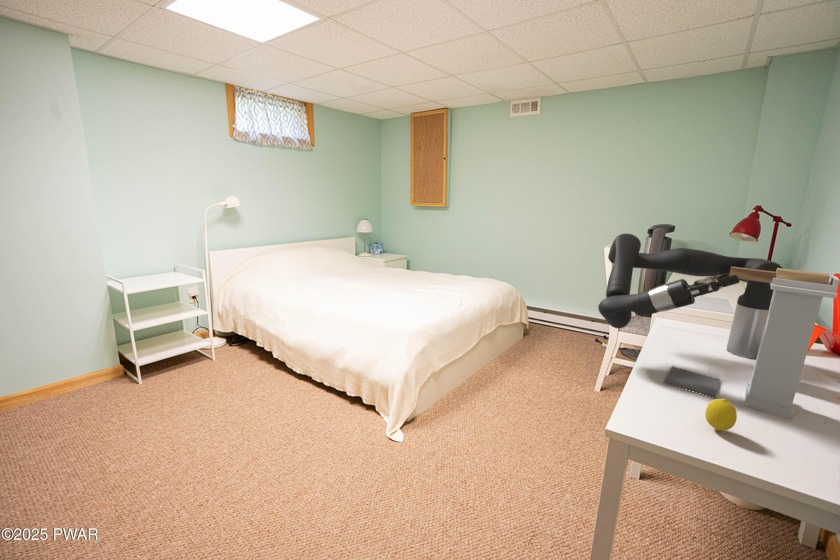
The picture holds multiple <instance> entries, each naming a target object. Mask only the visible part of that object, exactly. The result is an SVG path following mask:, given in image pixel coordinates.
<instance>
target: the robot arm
mask: <svg viewBox="0 0 840 560" xmlns="http://www.w3.org/2000/svg"><path fill="white" fill-rule="evenodd" d="M641 245H642V244H641V240H640V238H639V237H637V236H636V235H634V234H633V233H632V234H631V233H621V234H619V235H617V236H616V237H615V238H614V239H613V242H612V244H611V247H610V250H609V253H608V255H607V256H608V260H609V262H610V263H611V264H613V265H612V267H611V271H610V274H609V277H608V281H607V286H606V291H605V296H606V298H604V299H603V300H601V301H600V302H599V304H598V307H597V308H598V311H599V313H600V315H601V316H602V317H603V318H604V320H605V321H606V322H607V323H608V325H610V326H611V327H613V328H614V329H623V328H625V327H627V326H628V324H629V323H630V322H631V320H632V316H633V315H632V313H634V314H635V315H637V316H639V317H646V316H650V315H652V314H653V315H654V314H658V313H661V312H662V313H663V312H667V311H671V310H672V311H673V310H675V309H679V308H683V307H687V306H690V305H693V304H694V303H695V302H696V300H695V298H697V297H701V296H705V295H707V294H711V293H714V292H715V293H716V292H718V291H720V290H722V289H723V288H726V287H730V286H733V285H737V284H739V283H740V282H744V283H746V287H745V289H744V292H743V294H741V295H739V296H738V298H737V300H736V301H737V302H736V304H735V305H736V306H735V310H734V314H733V315H734V316H733V319H732V323H731V327H730V331H729V336H728V340H727V343H726V348H725V349H726V351H727V352H729V353H731V354H733V355H735V356H739V357H742V358H747V359H757V355H758V351H759V347H760V343H761V339H762V335H763V331H764V327H765V323H766V319H767V315H768V311H769V307H770V303H771V299H772V295H773V291H774V290H772V289H771V286H770V283H767V282H760V281H752V280H745V279H739V278H738V276H737V275H732V276H729V273H730V269H731V267H739V268H748V269H756V270H765V271H773V272H776V271H777V268H781V269H784V268H783V267H782V266H781V265H780V264H779V263H777V262H775V261H772V260H768V259H763V258H755V257H753V258H752V257H750V258H748V257H738V256H737V257H735V256H729V255H722V254H720V253H715V252H711V251H710V252H709V251H705V250H701V249H700V250H699V249H694V248H688V247H677V248H672V249H671V248H670V249H667V250H664V251H663V250H662V251H659V252H653V253H647V252H646V253H645V252H640V250H641V247H642V246H641ZM634 269H643V270H644V269H645V270H655V271H663V272H668V273H675V274H679V275H680V274H681V275H686V276H691V277H705V278H703V279H697V280H695V281H694V282H693V283H692V284H689V283H688V281H687V280H686V279H684V278H680V279H677V280H674V281H671V282H668V283H665V284H660V285H659V286H655V287H654V288H651V289H649V290H644V291H642V292H638V293H635V294H631V289H632V279H633V273H634Z"/></svg>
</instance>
